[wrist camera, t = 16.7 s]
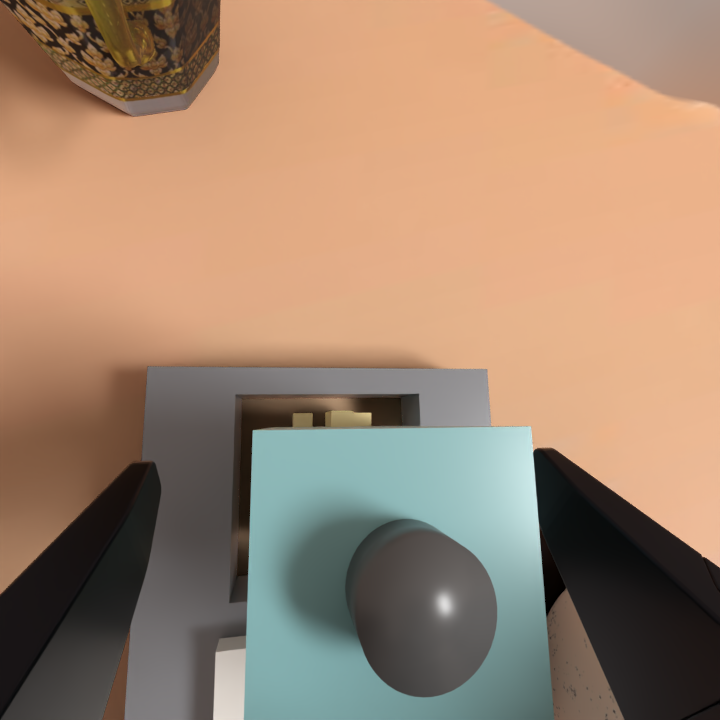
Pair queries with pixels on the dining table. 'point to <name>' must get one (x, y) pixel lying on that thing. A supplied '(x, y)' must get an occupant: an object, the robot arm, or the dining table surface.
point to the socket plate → (233, 508)
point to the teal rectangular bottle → (395, 574)
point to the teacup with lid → (576, 668)
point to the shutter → (230, 679)
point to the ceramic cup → (129, 47)
